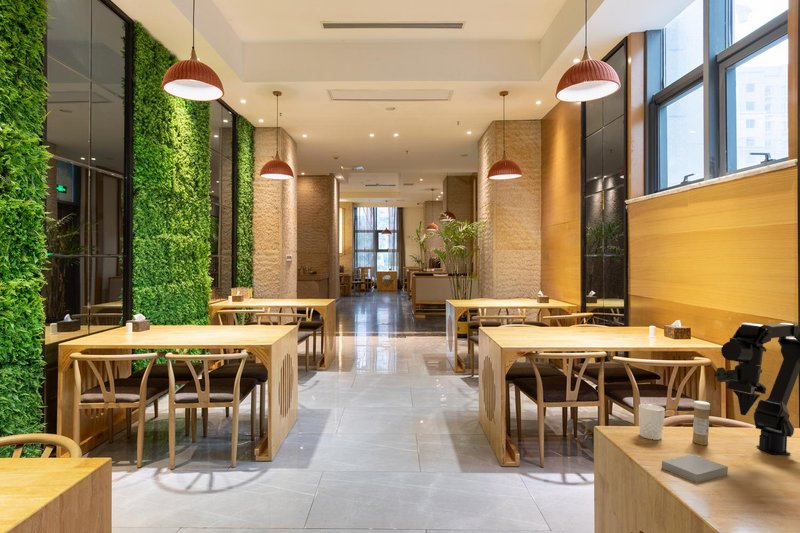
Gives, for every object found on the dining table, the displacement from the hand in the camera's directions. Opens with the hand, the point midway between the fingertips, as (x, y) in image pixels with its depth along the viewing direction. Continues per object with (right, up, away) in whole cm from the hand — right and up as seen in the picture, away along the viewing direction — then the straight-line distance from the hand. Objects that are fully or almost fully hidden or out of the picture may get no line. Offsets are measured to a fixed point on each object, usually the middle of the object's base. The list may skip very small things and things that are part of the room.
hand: (742, 415), depth 152 cm
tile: (-16, -11, -9) cm, 22 cm away
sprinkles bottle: (-6, -13, +12) cm, 19 cm away
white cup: (-20, -12, +16) cm, 29 cm away
